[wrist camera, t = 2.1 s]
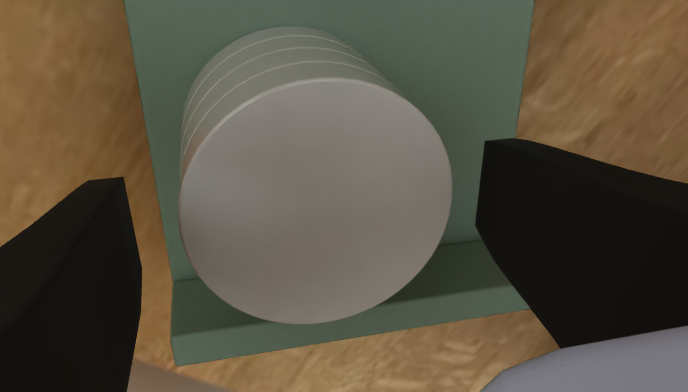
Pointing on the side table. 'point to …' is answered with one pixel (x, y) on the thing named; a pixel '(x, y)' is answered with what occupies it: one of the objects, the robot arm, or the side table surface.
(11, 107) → the side table surface
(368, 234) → the saucers
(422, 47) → the green end-lipped tray
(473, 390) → the side table surface
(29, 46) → the side table surface
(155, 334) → the side table surface
